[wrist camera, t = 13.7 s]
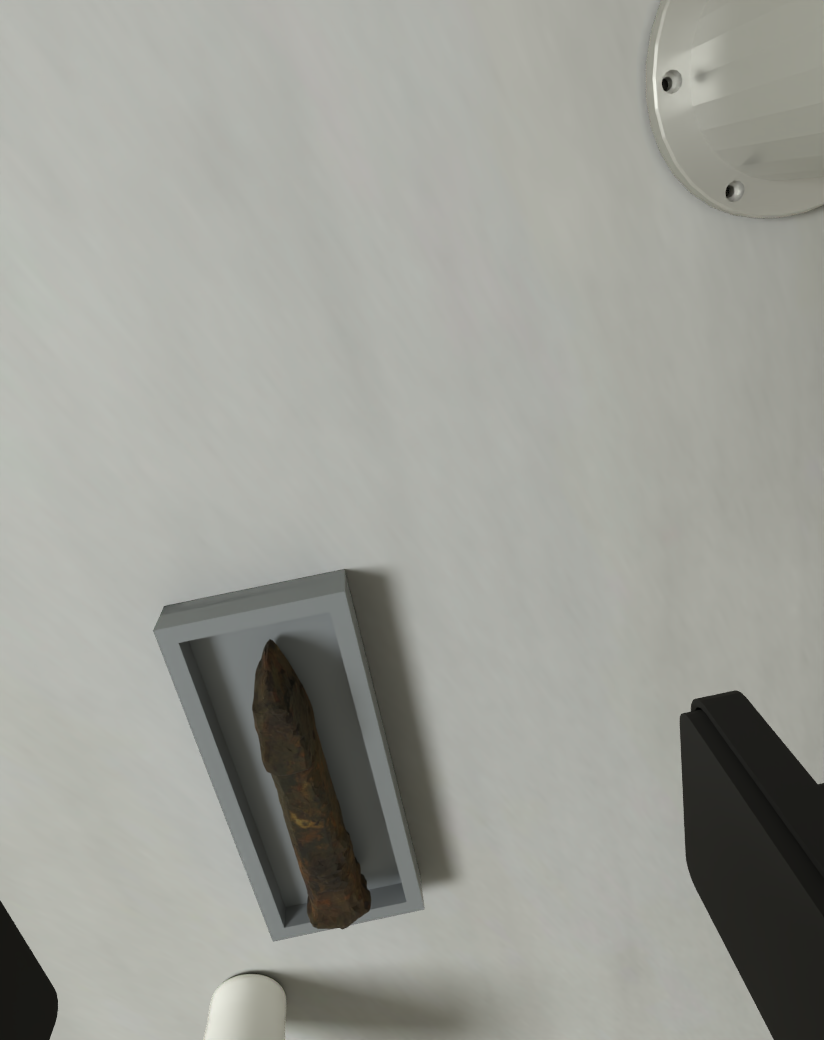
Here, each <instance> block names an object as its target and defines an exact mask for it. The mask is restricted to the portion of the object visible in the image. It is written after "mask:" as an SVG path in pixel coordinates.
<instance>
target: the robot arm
mask: <svg viewBox="0 0 824 1040" xmlns="http://www.w3.org/2000/svg"><path fill="white" fill-rule="evenodd" d="M662 79H666V80H667V81H668V88H667V90H666V91H664V90H663V87H662ZM646 102H647V107H648V113H649V119H650V125H651V129H652V131H653V134H654V137H655V140H656V142H657V145H658V148H659V151H660V153H661V155H662V157H663V158H664V160H665V161H666V163H667V165H668V166H669V168H670V170H671V171H672V173H673V175H674V176H675V177H676V178H677V179H678V180H679V181H680V182H681V183H682V184H683V186H684V187H685V188H686V189H687V190H688V191H689V192H690V193H691V194H692V195H694V196H695V197H697V198H698V199H700V200H701V201H703V202H704V203H706V204H707V205H709V206H711V207H713V208H715V209H718V210H721V211H723V212H726V213H729V214H732V215H736V216H744V217H752V218H780V217H785V216H790V215H795V214H800V213H805V212H807V211H810V210H812V209H815V208H817V207H820V206H822V205H824V0H661V1H660V5H659V8H658V11H657V14H656V17H655V20H654V23H653V27H652V30H651V34H650V40H649V47H648V53H647V59H646ZM727 186H728V187H729V190H730V192H729V195H728V196H727V197H726V194H725V192H726V188H727ZM680 739H681V761H682V783H683V805H684V827H685V850H686V861H687V866H688V869H689V873H690V876H691V878H692V881H693V884H694V886H695V888H696V890H697V892H698V894H699V896H700V898H701V900H702V901H703V903H704V905H705V907H706V909H707V911H708V913H709V915H710V917H711V919H712V921H713V923H714V925H715V927H716V929H717V931H718V932H719V934H720V936H721V938H722V940H723V942H724V944H725V946H726V948H727V950H728V952H729V954H730V956H731V958H732V960H733V961H734V963H735V965H736V967H737V969H738V971H739V973H740V975H741V977H742V979H743V981H744V983H745V985H746V987H747V989H748V990H749V992H750V994H751V996H752V998H753V1000H754V1002H755V1004H756V1006H757V1008H758V1010H759V1012H760V1014H761V1016H762V1018H763V1019H764V1021H765V1023H766V1025H767V1027H768V1029H769V1031H770V1033H771V1035H772V1037H773V1039H774V1040H824V783H822V784H817V783H816V782H815V781H814V779H813V778H812V777H811V776H810V775H809V773H808V772H807V771H806V770H805V768H804V767H803V766H802V765H801V764H800V762H799V761H798V760H797V759H796V758H795V756H794V755H793V754H792V753H791V751H790V750H789V749H788V748H787V747H786V745H785V744H784V743H783V742H782V741H781V739H780V738H779V737H778V736H777V734H776V733H775V732H774V731H773V730H772V728H771V727H770V726H769V725H768V724H767V722H766V721H765V720H764V719H763V717H762V716H761V715H760V714H759V713H758V711H757V710H756V709H755V708H754V707H753V705H752V704H751V703H750V702H749V700H748V699H747V698H746V697H745V696H744V695H743V694H742V693H741V692H739V691H731V692H726V693H721V694H717V695H712V696H707V697H702V698H697V699H694V700H693V702H692V704H691V712H687V713H683V714H681V716H680ZM57 1012H58V999H57V993H56V991H55V989H54V987H53V985H52V984H51V982H50V980H49V979H48V977H47V976H46V974H45V972H44V971H43V969H42V967H41V966H40V964H39V963H38V961H37V959H36V958H35V956H34V954H33V953H32V951H31V950H30V948H29V946H28V945H27V943H26V941H25V940H24V938H23V937H22V935H21V933H20V932H19V930H18V928H17V927H16V925H15V924H14V922H13V920H12V919H11V917H10V915H9V914H8V912H7V911H6V909H5V907H4V906H3V904H2V902H1V901H0V1040H49V1039H50V1036H51V1034H52V1031H53V1028H54V1025H55V1022H56V1018H57Z"/></svg>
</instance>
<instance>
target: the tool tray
mask: <svg viewBox="0 0 824 1040" xmlns="http://www.w3.org/2000/svg"><path fill="white" fill-rule="evenodd" d="M153 632H154V634H155V637H156V639H157V642H158V645H159V647H160V650H161V652H162V655H163V658H164V660H165V663H166V665H167V668H168V670H169V673H170V676H171V678H172V681H173V683H174V686H175V689H176V691H177V694H178V696H179V699H180V702H181V704H182V707H183V709H184V712H185V715H186V717H187V720H188V722H189V725H190V728H191V730H192V733H193V735H194V738H195V741H196V743H197V746H198V748H199V751H200V754H201V756H202V759H203V761H204V764H205V767H206V769H207V772H208V774H209V777H210V779H211V782H212V785H213V787H214V790H215V792H216V795H217V798H218V800H219V803H220V805H221V808H222V811H223V813H224V816H225V818H226V821H227V824H228V826H229V829H230V831H231V834H232V837H233V839H234V842H235V844H236V847H237V850H238V852H239V855H240V857H241V860H242V863H243V865H244V868H245V870H246V873H247V876H248V878H249V881H250V883H251V886H252V888H253V891H254V894H255V896H256V899H257V901H258V904H259V907H260V909H261V912H262V914H263V917H264V920H265V922H266V925H267V927H268V930H269V933H270V935H271V938H272V940H273V941H278V940H283V939H288V938H292V937H297V936H302V935H306V934H311V933H316V932H320V931H325V930H330V929H317V928H315V927H312V924H311V923H310V919H309V917H308V914H307V898H308V894H307V889H306V885H305V882H304V880H303V877H302V875H301V872H300V869H299V865H298V861H297V859H296V855H295V852H294V849H293V846H292V842H291V839H290V836H289V833H288V829H287V826H286V823H285V820H284V816H283V811H282V807H281V804H280V802H279V797H278V792H277V789H276V787H275V784H274V781H273V778H272V776H271V773H269V772H267V771H266V769H265V767H264V765H263V762H262V759H261V751H260V743H259V738H258V734H257V732H256V729H255V725H254V717H253V711H252V704H253V698H254V683H255V673H256V669H257V666H258V663H259V661H260V660H261V657H262V653H263V649H264V647H265V645H266V643H267V642H268V640H269V639H271V640H273V641H274V642H275V643H276V644H277V646H278V647H279V649H280V650H281V652H282V653H283V654H284V656H285V657H286V658H287V660H288V662H289V663H290V665H291V666H292V668H293V670H294V671H295V673H296V675H297V676H298V678H299V680H300V682H301V683H302V685H303V687H304V689H305V691H306V693H307V695H308V698H309V700H310V702H311V705H312V708H313V712H314V718H315V724H316V729H317V733H318V736H319V739H320V742H321V746H322V750H323V753H324V756H325V759H326V763H327V767H328V770H329V774H330V777H331V780H332V783H333V787H334V790H335V793H336V796H337V799H338V801H339V804H340V808H341V812H342V817H343V822H344V825H345V829H346V831H347V832H348V833H349V835H350V839H351V842H352V845H353V852H354V856H355V857H356V859H357V862H358V863H360V867H361V874H363V875H364V877H365V878H366V880H367V889H368V890H369V891H370V894H371V908H370V911H369V912H367V913H366V914H364V915H363V916H362V917H360V918H358V919H357V920H356V921H355V922H354V923H352V924H351V925H353V924H358V923H363V922H367V921H372V920H377V919H382V918H386V917H391V916H396V915H400V914H405V913H410V912H414V911H419V910H424V901H423V893H422V885H421V877H420V873H419V869H418V865H417V861H416V857H415V853H414V848H413V844H412V840H411V836H410V832H409V828H408V824H407V820H406V816H405V812H404V808H403V804H402V800H401V796H400V792H399V788H398V784H397V780H396V776H395V772H394V768H393V764H392V760H391V756H390V751H389V747H388V743H387V739H386V735H385V731H384V727H383V723H382V719H381V715H380V711H379V707H378V703H377V699H376V695H375V691H374V687H373V683H372V679H371V675H370V671H369V667H368V663H367V659H366V654H365V650H364V646H363V642H362V638H361V634H360V630H359V626H358V622H357V618H356V614H355V610H354V606H353V602H352V598H351V594H350V590H349V586H348V582H347V578H346V574H345V570H339V571H334V572H329V573H324V574H319V575H314V576H309V577H305V578H300V579H295V580H290V581H285V582H280V583H275V584H270V585H266V586H261V587H256V588H251V589H246V590H241V591H236V592H232V593H227V594H222V595H217V596H212V597H207V598H202V599H197V600H193V601H188V602H183V603H178V604H173V605H168V606H164V608H163V610H162V612H161V614H160V617H159V619H158V621H157V623H156V626H155V628H154V630H153ZM334 929H335V928H334Z"/></svg>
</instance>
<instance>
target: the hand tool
mask: <svg viewBox="0 0 824 1040" xmlns="http://www.w3.org/2000/svg"><path fill="white" fill-rule="evenodd" d="M252 711H253V717H254V725H255V729H256V732H257V734H258V738H259V743H260V751H261V759H262V762H263V765H264V767H265V769H266V771H267V772H269V773H271V776H272V778H273V781H274V784H275V787H276V789H277V792H278V797H279V802H280V804H281V807H282V811H283V816H284V820H285V823H286V826H287V829H288V833H289V836H290V839H291V842H292V846H293V849H294V852H295V855H296V859H297V861H298V865H299V869H300V872H301V875H302V877H303V880H304V882H305V885H306V889H307V894H308V898H307V914H308V917H309V919H310V923H311V924H312V927H315V928H317V929H334V928H341V929H344V928H347V927H348V926H350V925H351V924H352V923H354V922H355V921H356V920H357V919H358V918H360V917H362V916H363V915H364V914H366V913H367V912H369V911H370V908H371V894H370V891H369V890H368V889H367V880H366V878H365V877H364V875H363V874H361V867H360V863H358V862H357V859H356V857H355V856H354V852H353V845H352V842H351V839H350V835H349V833H348V832H347V831H346V829H345V825H344V822H343V817H342V812H341V808H340V804H339V801H338V799H337V796H336V793H335V790H334V787H333V783H332V780H331V777H330V774H329V770H328V767H327V763H326V759H325V756H324V753H323V750H322V746H321V742H320V739H319V736H318V733H317V729H316V724H315V718H314V712H313V708H312V705H311V702H310V700H309V698H308V695H307V693H306V691H305V689H304V687H303V685H302V683H301V682H300V680H299V678H298V676H297V675H296V673H295V671H294V670H293V668H292V666H291V665H290V663H289V662H288V660H287V658H286V657H285V656H284V654H283V653H282V652H281V650H280V649H279V647H278V646H277V644H276V643H275V642H274V641H273V640H271V639H269V640H268V642H267V643H266V645H265V647H264V649H263V653H262V657H261V660H260V661H259V663H258V666H257V669H256V673H255V683H254V698H253V704H252Z"/></svg>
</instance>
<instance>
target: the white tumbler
mask: <svg viewBox="0 0 824 1040" xmlns="http://www.w3.org/2000/svg"><path fill="white" fill-rule="evenodd" d="M285 1020H286V995H285V992H284V990H283V988H282V987H281V986H280V984H279V983H277V982H276V981H275V980H273V979H271V978H269V977H267V976H264V975H259V974H243V975H239V976H235V977H232V978H230V979H228V980H226V981H225V982H223V983H222V984H221V985H220V986H219V987H218V988H217V989H216V991H215V992H214V994H213V996H212V999H211V1003H210V1008H209V1014H208V1020H207V1026H206V1030H205V1034H204V1039H203V1040H285Z"/></svg>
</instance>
